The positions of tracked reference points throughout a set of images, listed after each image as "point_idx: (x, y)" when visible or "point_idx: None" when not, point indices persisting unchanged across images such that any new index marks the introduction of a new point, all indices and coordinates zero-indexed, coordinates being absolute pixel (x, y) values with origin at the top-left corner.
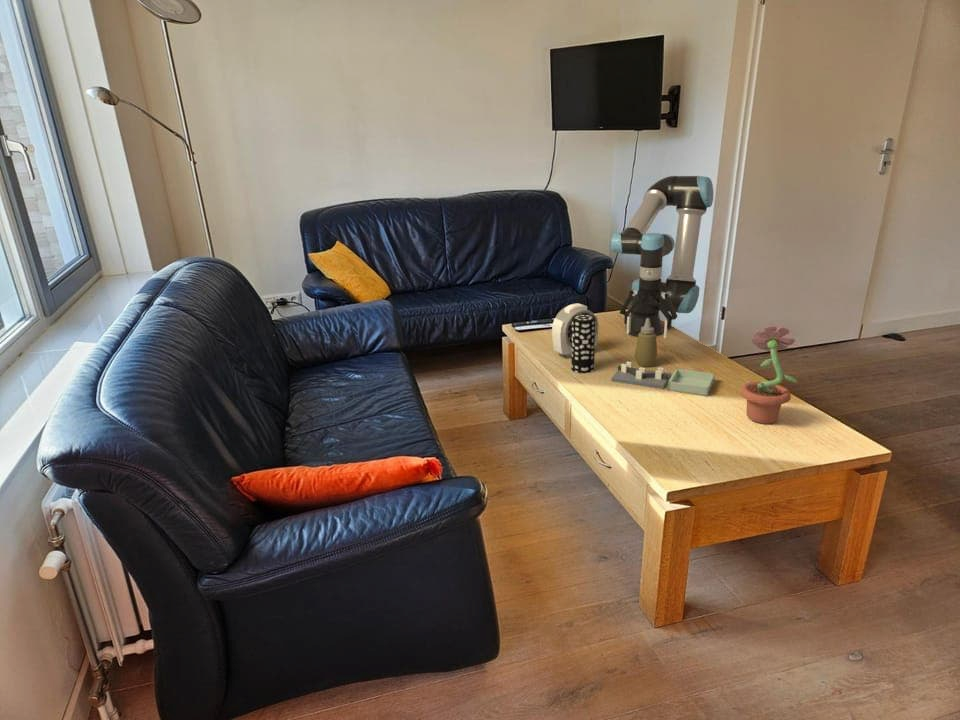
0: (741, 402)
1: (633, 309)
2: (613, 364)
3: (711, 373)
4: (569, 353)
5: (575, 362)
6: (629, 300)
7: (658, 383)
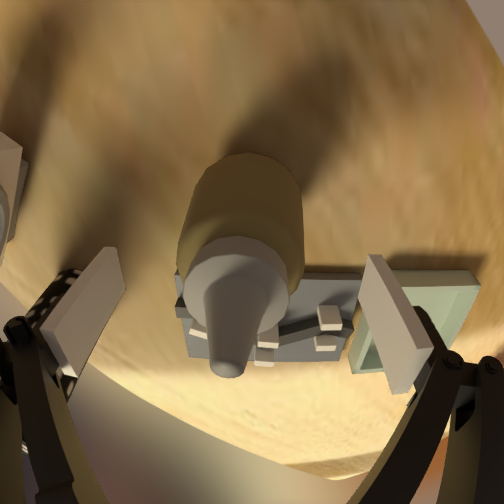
0: (480, 343)
1: (78, 440)
2: (135, 233)
3: (474, 286)
4: (5, 243)
5: None
6: (19, 494)
7: (325, 354)
